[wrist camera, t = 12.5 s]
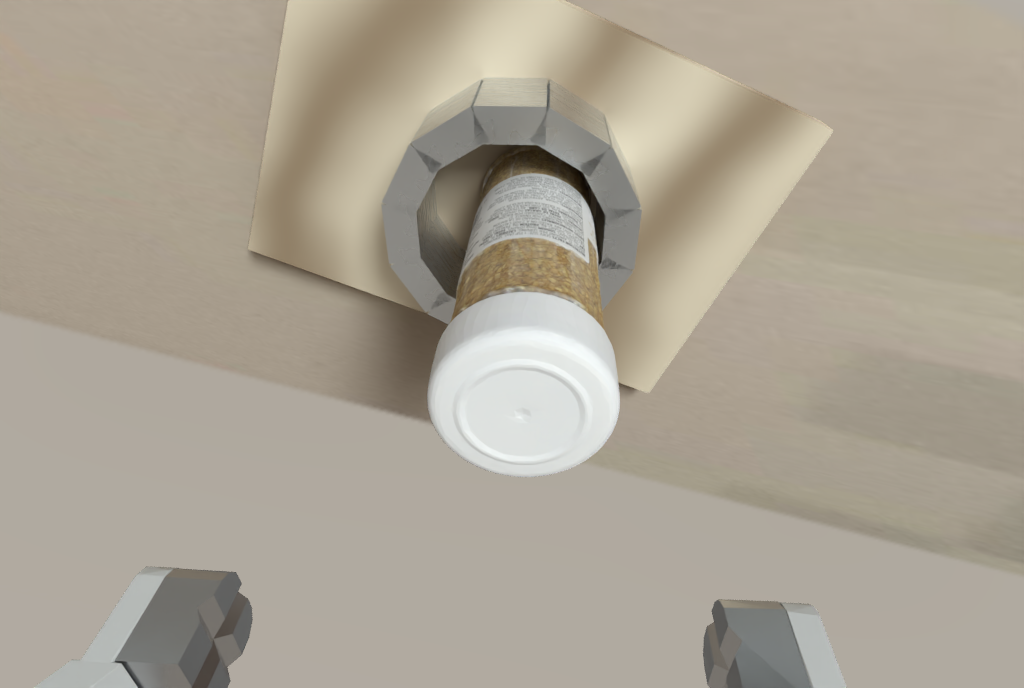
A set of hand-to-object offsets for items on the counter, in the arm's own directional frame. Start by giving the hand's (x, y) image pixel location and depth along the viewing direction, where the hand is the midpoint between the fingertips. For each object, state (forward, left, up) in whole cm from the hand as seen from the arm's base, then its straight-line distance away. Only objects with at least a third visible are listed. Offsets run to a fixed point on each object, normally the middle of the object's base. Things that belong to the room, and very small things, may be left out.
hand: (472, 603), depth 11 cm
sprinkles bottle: (-1, 0, -18) cm, 18 cm away
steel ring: (0, 0, -18) cm, 18 cm away
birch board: (0, 0, -19) cm, 19 cm away
